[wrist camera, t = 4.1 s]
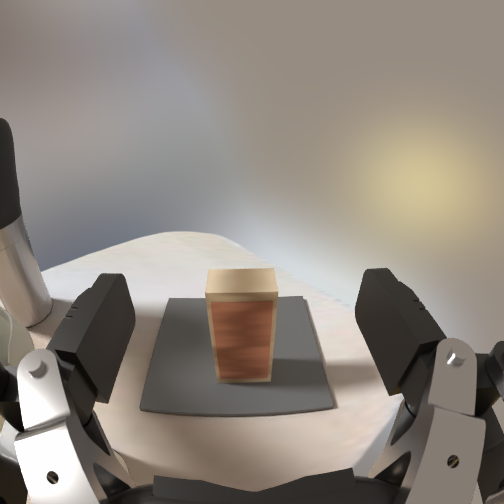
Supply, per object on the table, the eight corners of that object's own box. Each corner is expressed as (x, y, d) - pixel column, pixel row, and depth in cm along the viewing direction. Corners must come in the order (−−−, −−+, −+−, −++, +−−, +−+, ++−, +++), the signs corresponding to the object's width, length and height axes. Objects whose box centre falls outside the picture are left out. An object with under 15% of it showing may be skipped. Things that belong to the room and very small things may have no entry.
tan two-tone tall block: (217, 383, 29) (205, 294, 23) (218, 359, 32) (208, 269, 26) (270, 382, 29) (278, 292, 23) (268, 358, 32) (273, 268, 26)
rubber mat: (141, 410, 25) (139, 407, 25) (169, 301, 43) (169, 298, 42) (332, 408, 26) (333, 405, 26) (302, 298, 44) (302, 295, 43)
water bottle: (147, 459, 20) (5, 214, 8) (114, 522, 13) (-129, 328, 1) (86, 427, 22) (-37, 211, 10) (53, 480, 14) (-122, 278, 2)
